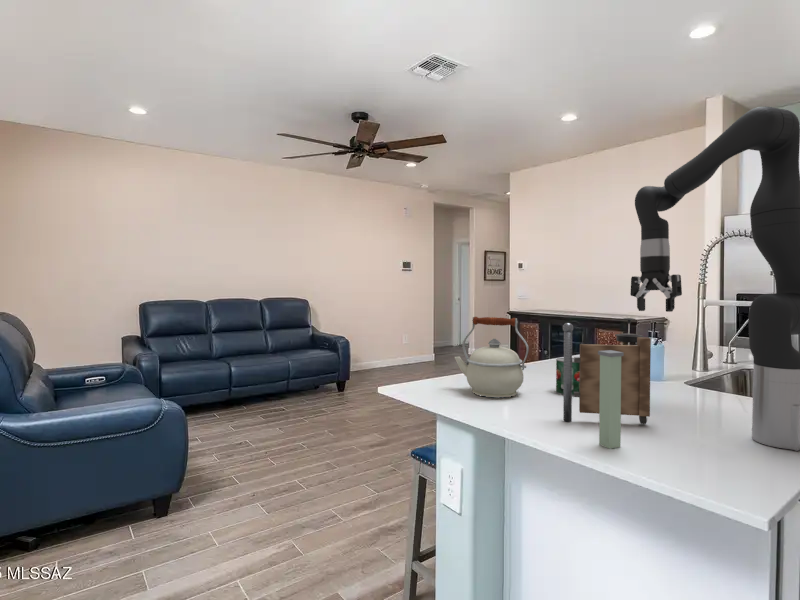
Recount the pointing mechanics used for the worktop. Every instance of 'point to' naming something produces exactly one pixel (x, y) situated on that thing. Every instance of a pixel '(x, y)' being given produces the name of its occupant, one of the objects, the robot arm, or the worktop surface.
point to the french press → (628, 334)
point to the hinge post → (567, 372)
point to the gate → (632, 378)
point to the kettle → (493, 364)
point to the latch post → (610, 398)
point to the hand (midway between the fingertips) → (655, 311)
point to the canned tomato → (561, 376)
